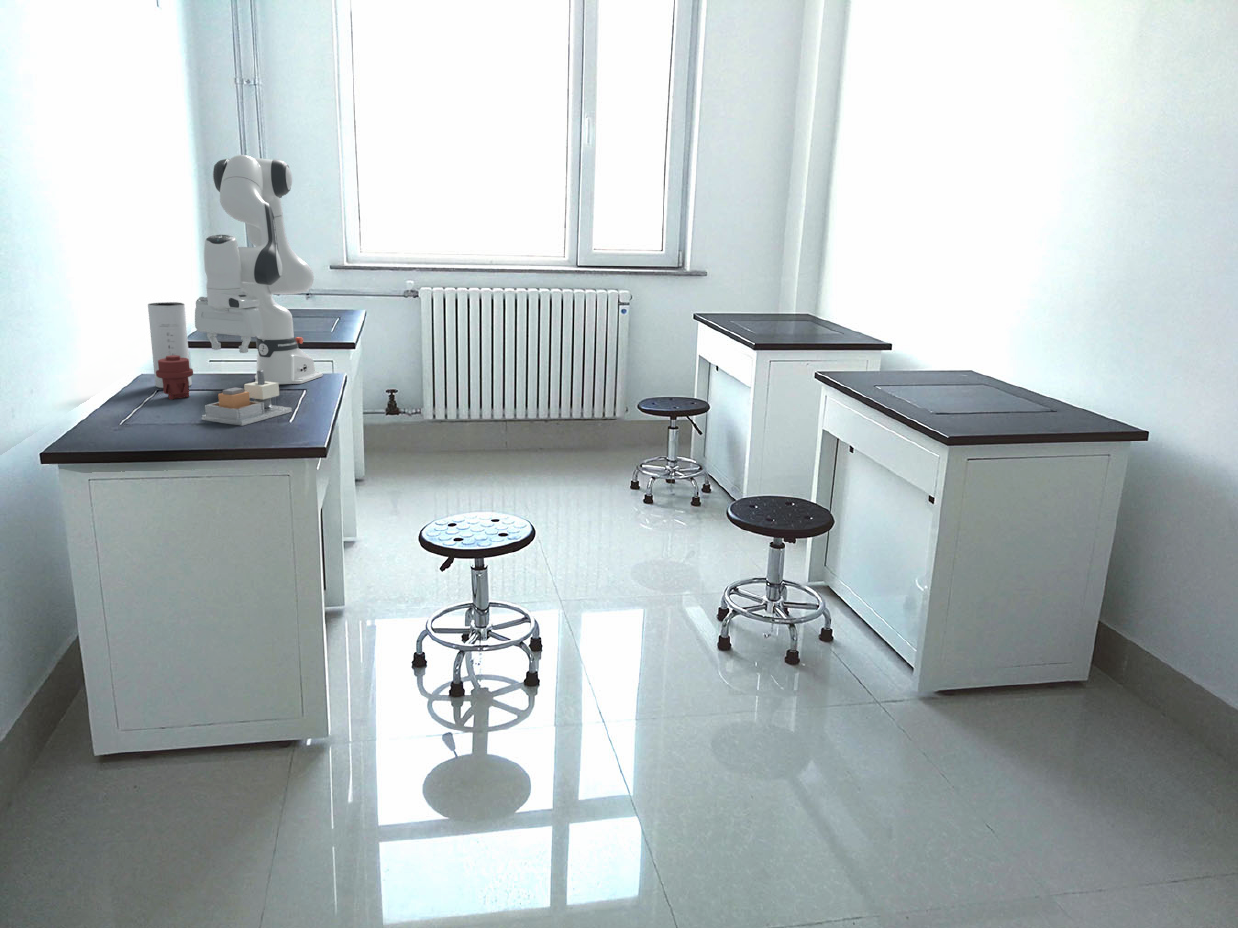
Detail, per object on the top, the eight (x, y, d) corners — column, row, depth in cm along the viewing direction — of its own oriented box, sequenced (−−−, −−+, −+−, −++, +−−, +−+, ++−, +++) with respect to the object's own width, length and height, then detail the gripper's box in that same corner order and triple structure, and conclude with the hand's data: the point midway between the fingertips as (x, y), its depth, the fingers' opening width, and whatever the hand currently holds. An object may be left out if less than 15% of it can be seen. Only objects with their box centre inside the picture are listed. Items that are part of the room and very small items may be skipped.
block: (220, 415, 261) (217, 390, 259) (236, 411, 267) (234, 386, 265) (234, 417, 259) (232, 392, 258) (250, 413, 265) (248, 388, 263)
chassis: (253, 406, 278) (249, 366, 275) (291, 411, 273) (289, 371, 270) (202, 419, 261) (198, 377, 258) (242, 425, 256) (238, 382, 253)
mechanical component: (202, 395, 292) (181, 401, 282) (172, 393, 293) (151, 399, 284) (198, 354, 288) (177, 359, 279) (168, 352, 290) (146, 357, 281)
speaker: (194, 382, 310) (186, 300, 303) (190, 388, 300) (181, 304, 293) (158, 383, 307) (149, 300, 300) (152, 389, 297) (143, 304, 290)
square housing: (261, 393, 275) (260, 380, 274) (279, 395, 273) (278, 382, 272) (245, 397, 270) (244, 384, 269) (263, 399, 267) (262, 386, 266)
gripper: (186, 297, 256) (191, 349, 259) (246, 302, 248) (250, 356, 252) (204, 295, 261) (209, 346, 265) (264, 300, 254) (268, 352, 257)
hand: (230, 351), depth 258 cm, fingers open, 8 cm apart
